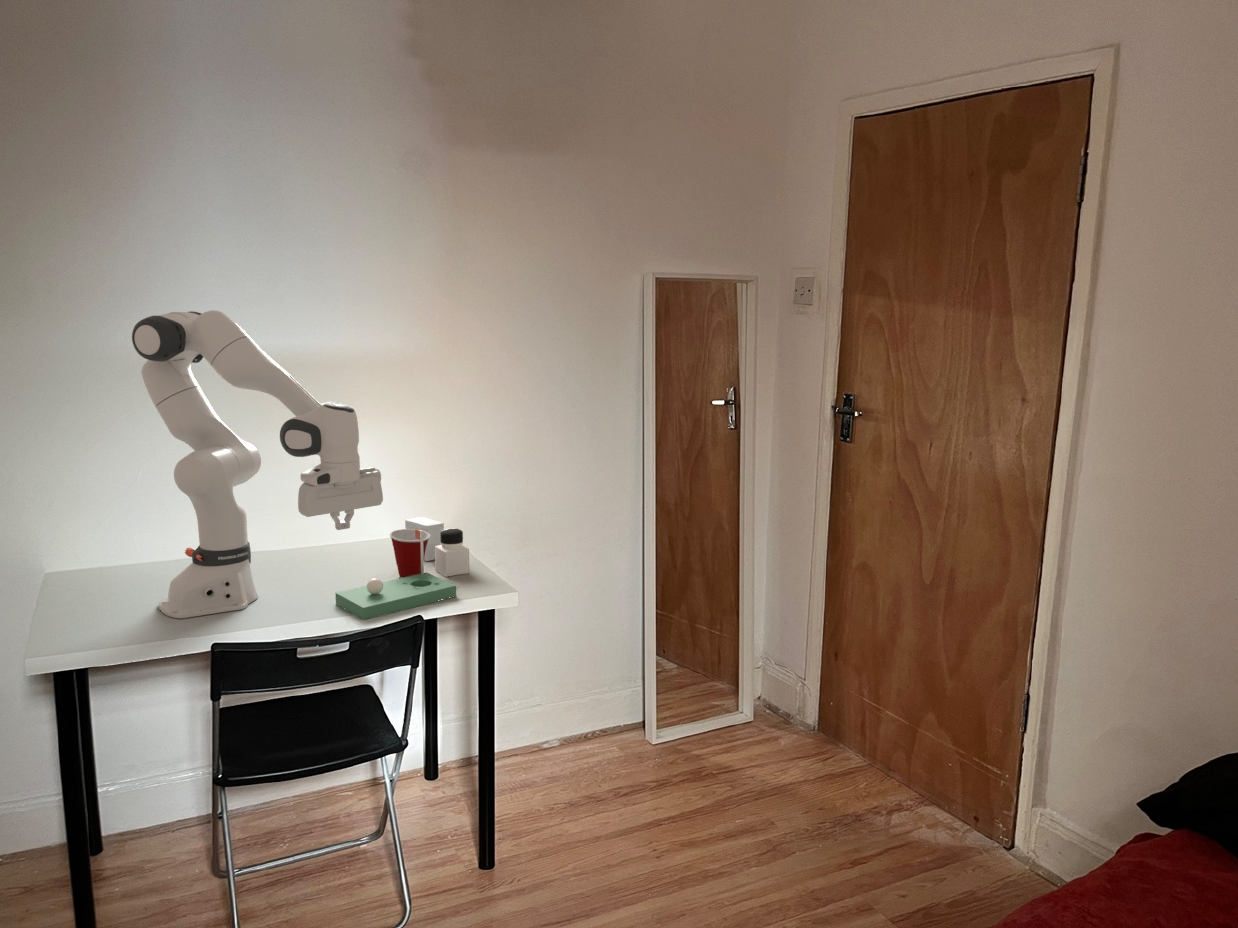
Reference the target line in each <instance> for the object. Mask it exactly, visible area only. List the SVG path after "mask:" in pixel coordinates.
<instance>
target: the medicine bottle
mask: <svg viewBox="0 0 1238 928" xmlns="http://www.w3.org/2000/svg"><path fill="white" fill-rule="evenodd" d="M440 534H441V545H438V546H435V559H434V560H435V561H434V568H435V571H436V572H438V573H439V574H441V575H442V576H444V577H445V578H448V576H449V577H453V576H454V575H455V576H460V575H465V574H469V573H470V549H469V548H468V547H466V545H463V544H464V532H463V530H461V529H460V528H453V527H450V528H444V530H442V531H441V533H440Z"/></svg>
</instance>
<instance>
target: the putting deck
mask: <svg viewBox="0 0 1238 928" xmlns="http://www.w3.org/2000/svg"><path fill="white" fill-rule="evenodd" d="M415 538H416V539H419V540H420V541H421V574H417V575H413V576H408V577H404V578H401V577H399V578H395V579H390V580H386V581H382V583H383V590H382V591H381V592H380V593H379V594H371V593H369V592H368V590H367V585H364V586H360V587H356V588H351V589H345V590H341V591H336V592H335V605H336V604H337V606H338V605H339V606H338V607H340V606H341V607H340V608H342V607H343V608H345V609H346V611H347V610H348V612H349V611H350V612H349V613H351V614H352V613H353V614H352V615H354V614H355V615H354V616H355V617H358V618H359V619H361V620H363V621H364V620H368V619H372V618H376V617H380V616H384V615H388V614H392V613H396V612H401V611H404V610H408V609H413V608H416V607H421V606H424V605H425V606H426V605H429V604H432V603H433V604H434V603H436V601H437V602H439V601H438V600H441V599H445V598H449V597H453V596H456V597H457V585H456V584H453V583H451V582H449V581H447V580H445V579H443V578H440V577H438V576H436V575H433V574H431V573H429V572H425V571H424V570H425V568H424V567H425V566H424V565H425V560H424V555H423V530H421V531H420V530H417V529H415ZM453 598H454V597H453ZM449 599H450V598H449ZM445 600H446V599H445ZM441 601H442V600H441ZM343 608H342V609H343ZM345 609H344V610H345Z"/></svg>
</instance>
